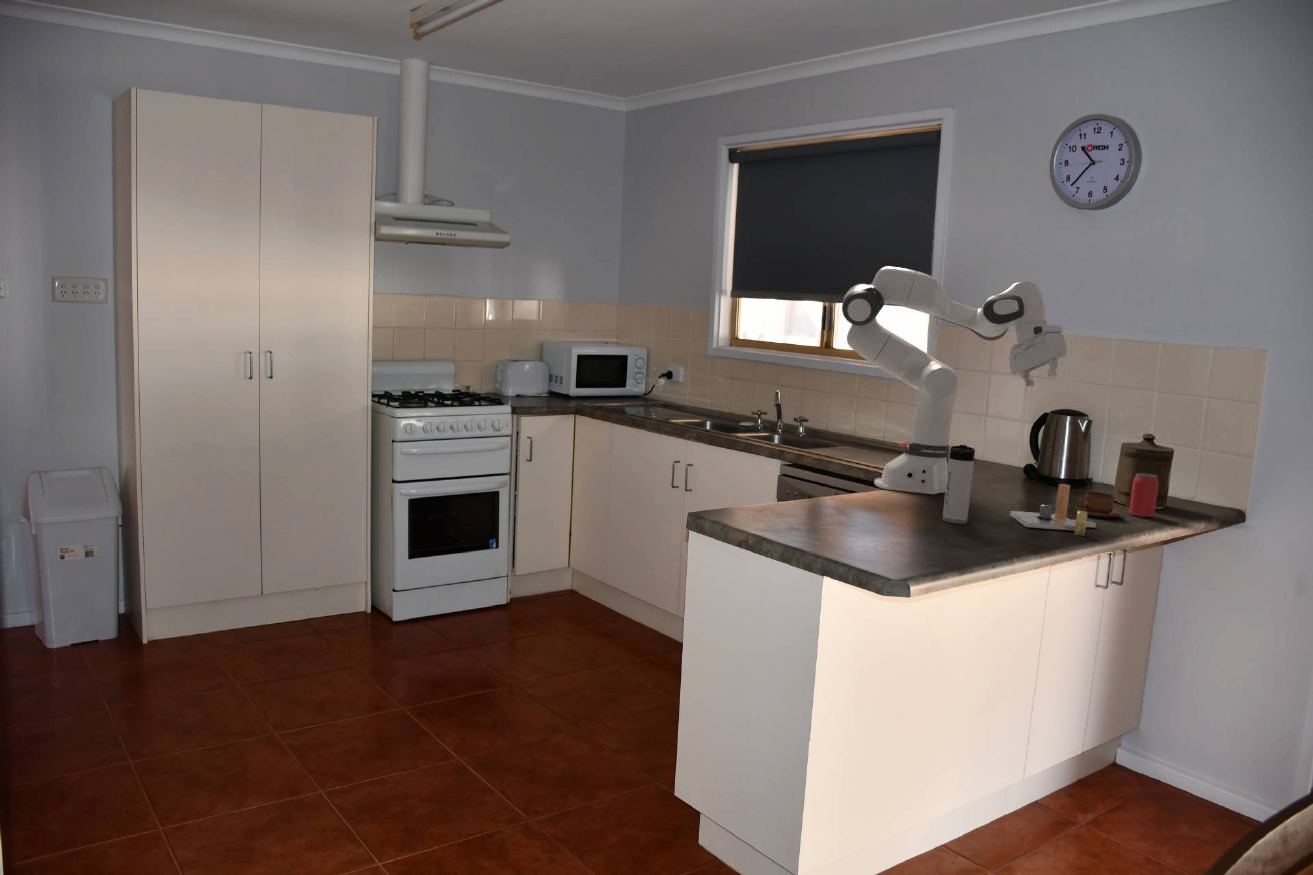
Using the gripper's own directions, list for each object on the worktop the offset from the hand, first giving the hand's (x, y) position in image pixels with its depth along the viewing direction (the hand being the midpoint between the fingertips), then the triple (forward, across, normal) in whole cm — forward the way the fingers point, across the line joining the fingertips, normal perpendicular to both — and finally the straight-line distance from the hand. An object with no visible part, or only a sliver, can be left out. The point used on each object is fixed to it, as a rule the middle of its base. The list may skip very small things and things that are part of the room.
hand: (1041, 381), depth 283 cm
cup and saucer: (+39, -2, +13) cm, 42 cm away
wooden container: (+35, -14, +41) cm, 55 cm away
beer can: (+40, 0, +27) cm, 49 cm away
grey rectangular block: (+42, +6, -13) cm, 44 cm away
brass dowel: (+46, +17, -12) cm, 51 cm away
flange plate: (+42, +7, -11) cm, 44 cm away
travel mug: (+40, +2, -38) cm, 55 cm away
